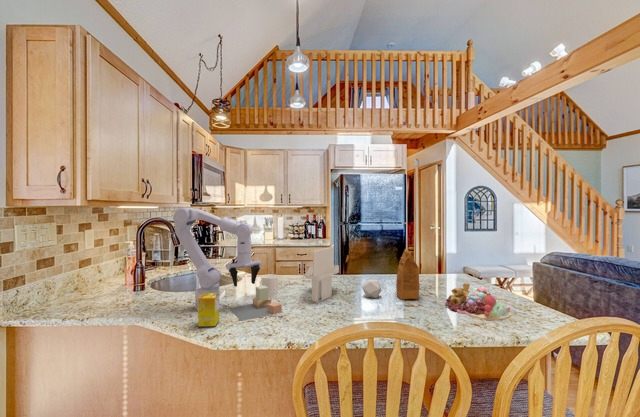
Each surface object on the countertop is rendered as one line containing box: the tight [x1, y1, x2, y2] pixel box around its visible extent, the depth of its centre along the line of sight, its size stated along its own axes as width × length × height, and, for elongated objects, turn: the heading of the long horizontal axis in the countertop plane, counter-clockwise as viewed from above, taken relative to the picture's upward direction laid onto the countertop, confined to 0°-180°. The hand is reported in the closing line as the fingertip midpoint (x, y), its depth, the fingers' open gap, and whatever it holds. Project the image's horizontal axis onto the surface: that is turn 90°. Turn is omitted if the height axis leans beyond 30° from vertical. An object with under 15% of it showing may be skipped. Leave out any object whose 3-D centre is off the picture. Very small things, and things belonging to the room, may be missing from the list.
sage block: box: [255, 285, 268, 301], centre depth 133 cm, size 4×4×5 cm
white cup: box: [260, 273, 279, 300], centre depth 146 cm, size 8×8×10 cm
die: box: [361, 279, 382, 299], centre depth 147 cm, size 8×9×10 cm
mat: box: [228, 303, 283, 322], centre depth 128 cm, size 17×17×1 cm
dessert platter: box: [444, 282, 513, 321], centre depth 131 cm, size 25×24×9 cm
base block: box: [252, 297, 272, 309], centre depth 133 cm, size 6×6×3 cm
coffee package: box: [395, 248, 421, 301], centre depth 147 cm, size 10×12×22 cm
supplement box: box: [197, 292, 220, 329], centre depth 113 cm, size 6×6×11 cm
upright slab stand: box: [305, 244, 340, 304], centre depth 149 cm, size 28×21×23 cm
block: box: [267, 301, 282, 315], centre depth 126 cm, size 4×4×3 cm
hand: (244, 284), depth 131 cm, fingers open, 7 cm apart
